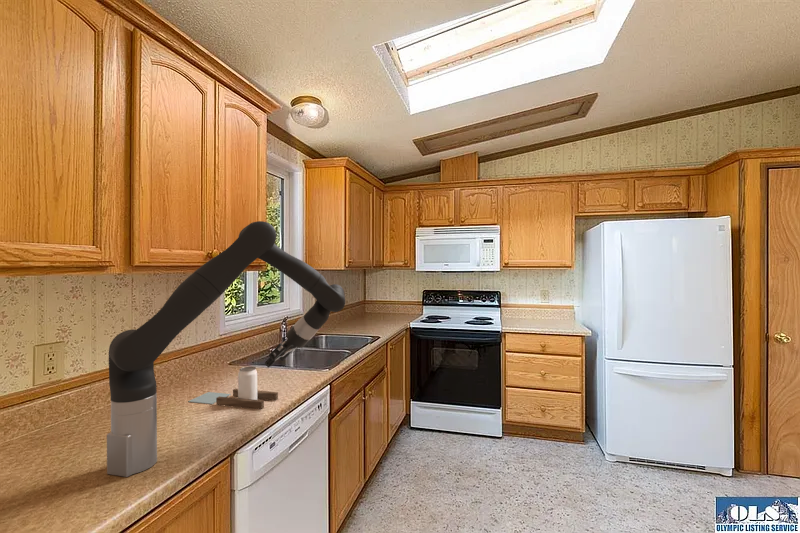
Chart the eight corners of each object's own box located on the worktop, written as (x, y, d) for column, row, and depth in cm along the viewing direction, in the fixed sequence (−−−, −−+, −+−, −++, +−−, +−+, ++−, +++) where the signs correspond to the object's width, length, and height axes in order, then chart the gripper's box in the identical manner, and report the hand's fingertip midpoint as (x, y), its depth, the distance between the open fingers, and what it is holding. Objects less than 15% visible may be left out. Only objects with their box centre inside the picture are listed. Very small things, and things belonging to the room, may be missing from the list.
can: (250, 406, 131) (250, 371, 131) (234, 404, 133) (233, 370, 133) (261, 399, 138) (260, 366, 138) (245, 398, 139) (245, 365, 139)
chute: (261, 409, 128) (261, 402, 128) (216, 405, 132) (216, 397, 132) (278, 399, 138) (278, 392, 138) (235, 395, 142) (235, 388, 142)
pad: (211, 404, 133) (211, 403, 133) (188, 402, 135) (188, 401, 135) (230, 394, 143) (230, 394, 143) (208, 392, 145) (208, 391, 145)
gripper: (306, 320, 137) (278, 349, 140) (285, 326, 123) (254, 359, 126) (319, 335, 136) (291, 364, 139) (300, 343, 122) (268, 376, 125)
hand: (273, 362), depth 133 cm, fingers open, 8 cm apart
